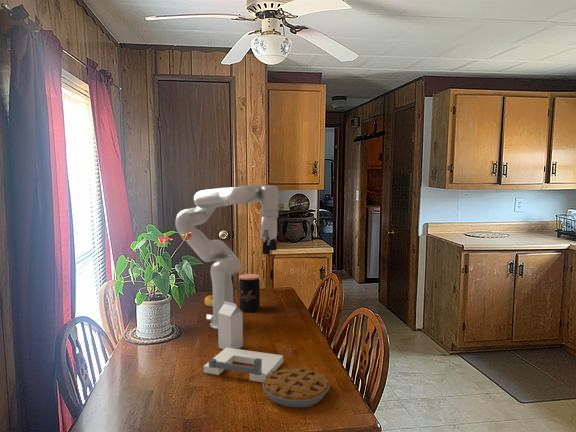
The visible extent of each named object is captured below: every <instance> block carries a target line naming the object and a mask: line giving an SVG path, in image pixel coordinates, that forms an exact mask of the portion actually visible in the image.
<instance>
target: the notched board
mask: <svg viewBox="0 0 576 432" xmlns="http://www.w3.org/2000/svg"><path fill="white" fill-rule="evenodd" d="M256 358H259V359H262V373H261V374H260V375H255V374H252V373H249V381H252V382H258V383H259V382H260V383H264V381H265V380H266V377H267V376H269V375H271V373H272V372H273V371H277V369H279V368H280V366H281V365H282V364H283V363H284V355H282V354H275V353H268V352H260V351H253V350H246V349H241V348H239V349H234V348H227V347H226V348H225V349H224V350H223V349H222V350H221V351H219V353H218V354H217V355H215V356H214V357H212V359H216V361H218V362H225V363H232V364H233V363H234V362H235V363H240V364H241V363H242V364H248V365H253V366H254V360H255V359H256ZM225 370H226V369H220V368H211V367H209V361H208V362H207V363H205V364H204V365H203V373H204V374H211V375H216V376H219V375H220V374H221V373H223V372H224V371H225Z"/></svg>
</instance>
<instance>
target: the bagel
mask: <svg viewBox="0 0 576 432" xmlns="http://www.w3.org/2000/svg"><path fill="white" fill-rule="evenodd" d="M204 305H205V306H206V307H209V308H213V295H211V294H210V295H207V296H206V297H205V298H204Z"/></svg>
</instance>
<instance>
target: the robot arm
mask: <svg viewBox="0 0 576 432" xmlns="http://www.w3.org/2000/svg"><path fill="white" fill-rule="evenodd" d="M256 202H260V218H261V222H260V224H261V225H260V240H261V241H262V244H261V245H262V254H263V255H271V251H277V249H278V247H277V243H278V239H277V236H278V220H277V219H278V218H279V188H278V186H276V185H262V184H261V185H260V184H247V185H241V186H233V187H227V186H226V187H217V188H209V189H203V190H202V189H201V190H199V191H197V192H196V193H195V194H194V196H193V203H194V204H195V206H196V207H190V208H185V209H182V210H180V211H179V212H178V213H177V214H176V217H175V222H174V224H175V228H176V231H177V233H178V235H179V236H180V237H181V238H182V236H181V234H183V233H189V232H192V236H191V238H190V240H189V241H185V242H186V243H187V245H188V246H189V247H190V248H191V249H192V250H193V251H194V253H195V254H196V255H197V256H198V257H199V258H200V260H201V261H203V262H205V263H211V262H213V263H212V265H211V266H210V278H211V283H212V284H211V285H212V296H213V307H212V314H208V313H207V314H206V315H205V316H206V318H205V320H206V321H210V323H209V326H210V329H211V328H212V329H215V330H218V312H219V310H220V309H221V307H222V306H223V304H224V301H226V302H230V303H234V284H233V281H232V277H233V276H235V275H237V274H238V273H239V272H240V271H241V268H242V264H241V261H240V259H239V258H238V256H237V255H236V254H235V253H234V251H232V249H231V248H230V247H229V246H228V245H227V244H226V243H225V242H224V241H222V240H220V239H212V240H210V239H209V238H208V236H206V235H205V234H204V233H203V232H202V231H201V230H200V229H198V228H197V227H196V226H199V225H202V224H204V223H206V222H207V221H208V220H209V218H210V217H211V216H212V214H213V213H214V212H215V210H217V209H216V208H219V207H228V206H230V205H239V204H249V203H256Z"/></svg>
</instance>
